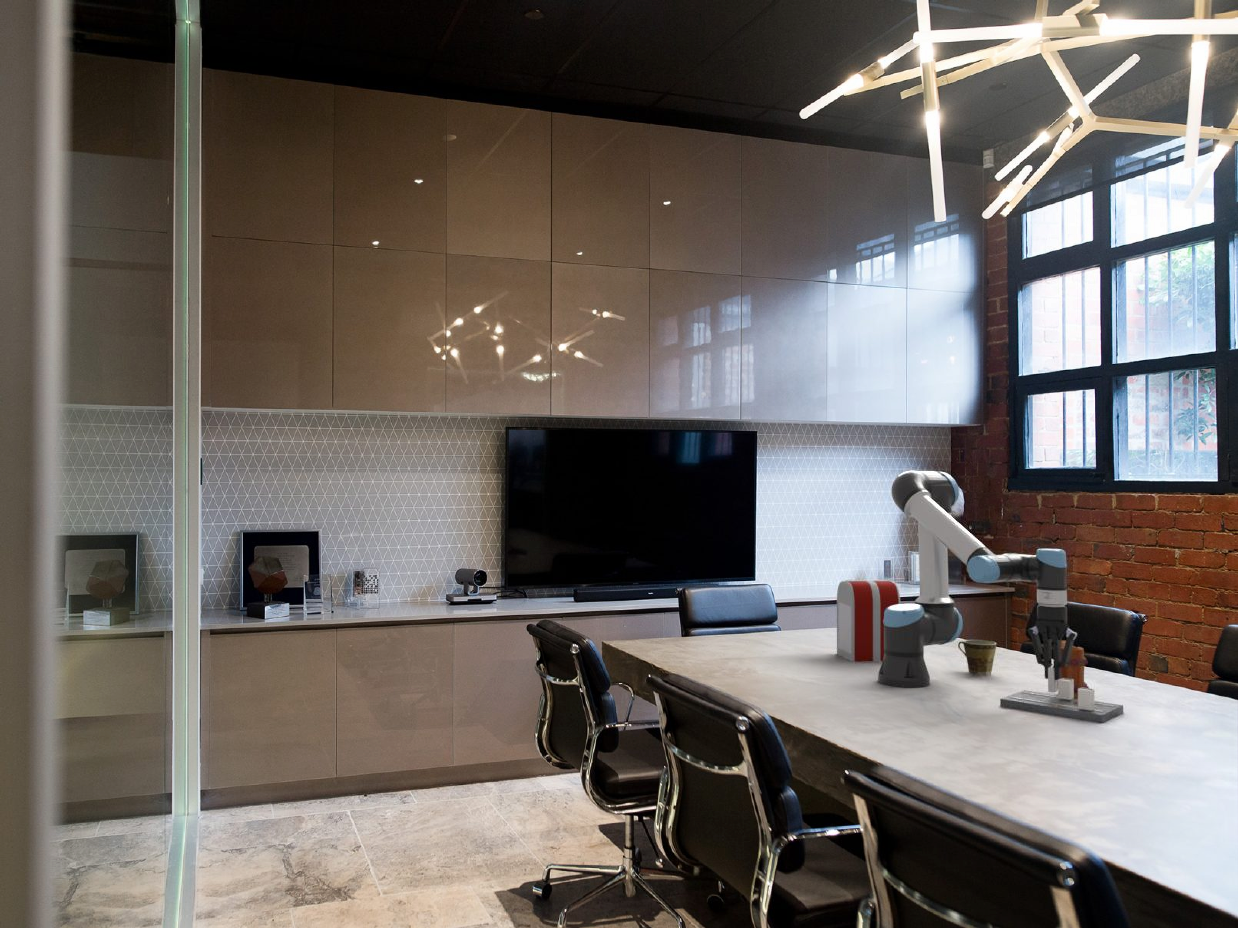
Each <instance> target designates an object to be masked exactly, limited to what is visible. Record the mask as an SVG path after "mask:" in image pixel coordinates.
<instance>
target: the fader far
mask: <svg viewBox="0 0 1238 928" xmlns="http://www.w3.org/2000/svg"><path fill="white" fill-rule="evenodd" d="M1057 681H1058V691H1057V695H1058V698H1061V699H1067V700H1071V699H1073V698H1074V680H1072V679H1065V678H1060V679H1058V680H1057Z"/></svg>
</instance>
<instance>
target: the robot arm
mask: <svg viewBox="0 0 1238 928" xmlns="http://www.w3.org/2000/svg"><path fill="white" fill-rule="evenodd" d="M959 491H960V490H959V485H958V483H957V482H956V480H955V479H954V478H953V477H952V475H950V474H949V473H947V472H943V471H938V470H937V471H936V470H907V471H904V472H902V473H900V474H899V475H897V477H896V478H895V479H894V480H893V483H892V486H891V491H890V492H891V497H892V500H893V502H894V504H895V505H896V506H897V507H898V509H899V510H900V511H901V512H903V513H904V514H905V516H907V517H909V518H914V519H915V520H916V521H917V528H918V531H917V532H918V536H917V537H918V565H919V566H918V567H919V568H918V569H919V573H918V574H919V596H918V597H917V598H916V599H915V601H914V603H900V604H897V605H892V606H890V607H888V608H886V610H885V612H884V620H883V623H884V658H883V661H881V664H880V667H879V671H878V673H877V681H878V682H879V683H880V684H883V685H888V686H893V687H900V688H901V687H903V688H921V687H922V688H923V687H927V686H930V684H931V681H930V680H931V677H930V674H929V669H928V667H927V664H926V661H925V657H924V655H925V653H924V651H925V649H924V648H925V647H927V646H933V645H934V646H935V645H936V646H937V645H938V646H939V645H940V646H941V645H942V646H943V645H946V644H948V643H952V642H954V641H956V640H957V638H959V637H960V635H961V633H962V630H963V626H964V625H963V617H962V614H961V613H960V612H959V610H958V609H957V608H956V607H955V600H953V599H952V597H951V596H949V595H950V593H949V592H950V591H949V590H950V589H949V587H950V586H949V562H948V561H949V558H948V550H949V551H950V552H951V553H952V554H953V555H954V556H955V557H957V558H958V559H959V560H960V561H961V562H962V563H963V564H965V566H966V571H967V573H968V576H969V578H970V579H971V580H972V581H973V582H976V583H978V584H979V583H982V584H993V583H1003V582H1008V583H1009V582H1031V583H1036V603H1037V604H1038V605H1037V606H1036V617H1037V618H1036V619H1037V620H1036V622H1035V625H1034V626H1033V627H1031V628H1027V633H1028V635H1029V636H1030V638H1031V639H1030V640H1031V642H1032V646H1033V651H1034V655H1035V659H1036V662H1037V664H1038V665H1042V666H1043V667H1044V679H1045V680H1047V692H1048V693H1056V692H1057V693H1058V685H1057V681H1058V679H1060V678H1061V667H1065V666H1067V665H1068V663H1069V659H1070V655H1071V651H1072V647H1073V646H1074V642H1075V640H1076V638H1077V637H1078V635H1079V634H1078V632H1076V631H1073V630H1072V629H1070V625H1069V624H1068V608H1067V606H1066V605H1067V604H1068V593H1067V592H1068V591H1067V573H1068V572H1067V569H1068V564H1067V553H1066V551H1065V550H1063V549H1062V548H1061V549H1060V548H1038V549H1037V550H1036V554H1034V555H1032V554H1023V553H1020V554H1019V553H1003V554H995V553H993V551H991V550H990V549H989V548H987V547H986V546H985V545H984V544H983V543H982V542H981V541H980V540H978V538H976V537H975V536H974V535H973V534H972V533H970V532H969V531H968V529H966V528H965V527H964V526H963V525H962V524H961V523H959V522H958V521H957V520H956V519H955V518H954V517H952V508H953V507H954V506H955V505H956V502H958V500H959V494H960V492H959ZM1039 633H1040V635H1041V636H1042V642H1043V647H1042V643H1041V639H1040V635H1039ZM1065 635H1066V640H1065V641H1066V643H1065V647H1064V651H1063V655H1062V659H1061V642H1062V641H1063V637H1064V636H1065ZM1052 650H1053V651H1052ZM1052 652H1053V654H1052ZM1052 655H1053V658H1052ZM1052 660H1053V661H1052Z"/></svg>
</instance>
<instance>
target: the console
mask: <svg viewBox="0 0 1238 928" xmlns="http://www.w3.org/2000/svg"><path fill="white" fill-rule="evenodd" d="M999 701H1000V702H999V704H1000V707H1003V708H1010V709H1014V710H1015V709H1016V710H1020V711H1027V712H1033V713H1040V714H1046V715H1051V716H1058V717H1064V718H1069V719H1070V718H1071V719H1075V720H1081V721H1089V722H1093V723H1099V724H1104V723H1105V722H1108V721H1109V720H1112V719H1114V718H1116V717H1119V716H1120V715H1122V714H1124V705H1122V704H1116V703H1112V702H1111V703H1110V702H1104V701H1097V700H1094V709H1092V710H1085V709H1079V708H1078V698H1073V699H1071V700H1067V699H1061V698H1058V694H1057V695H1056V694H1051V693H1044V692H1037V691H1032V690H1025V689H1024V690H1021V691H1018V692H1016V693H1012V694H1009V695H1007V696H1003V697H1002V698H999Z"/></svg>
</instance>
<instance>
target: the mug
mask: <svg viewBox="0 0 1238 928" xmlns="http://www.w3.org/2000/svg"><path fill="white" fill-rule="evenodd" d="M1065 643H1066V640H1062V642H1061V659H1062V655H1063V651H1064V647H1065ZM1088 663H1089V661H1088V660H1087V658H1086V657H1085V649H1084V648H1083V647H1080V646H1077V647H1076V646H1074V645H1073V647H1072V651H1071V655H1070V659H1069V663H1068V665H1067V666H1065V667H1061V678H1065V679H1072V680H1074V698H1078V689H1079V688H1080V687H1083V688H1090V687H1089V686H1088V684H1087V682H1085V666H1086V665H1088ZM1057 685H1058V680H1057Z"/></svg>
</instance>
